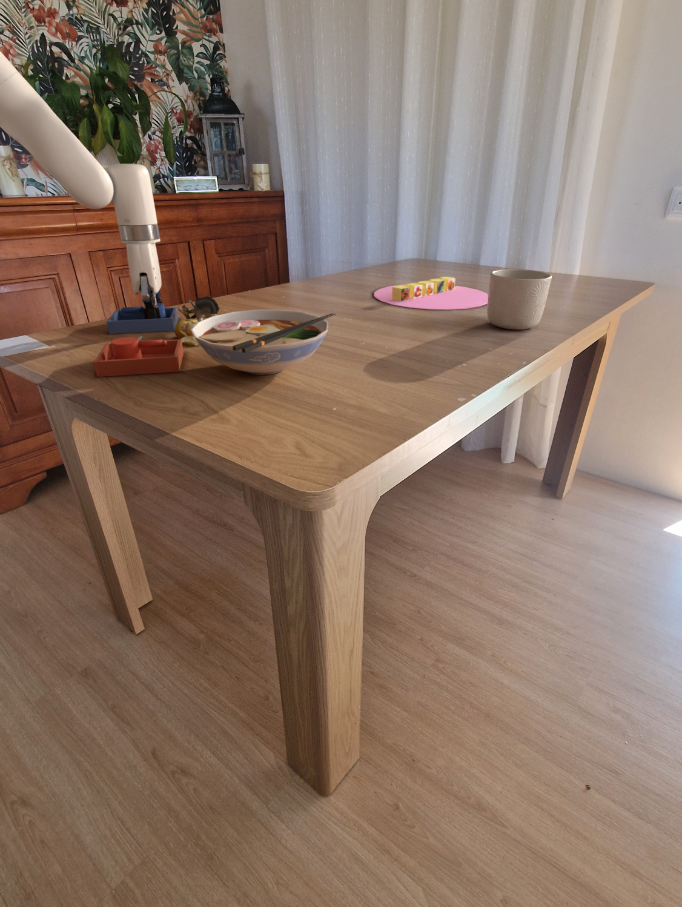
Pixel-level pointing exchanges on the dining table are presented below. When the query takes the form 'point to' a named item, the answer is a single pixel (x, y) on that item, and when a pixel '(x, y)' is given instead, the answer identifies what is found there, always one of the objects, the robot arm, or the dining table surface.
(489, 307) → the planter
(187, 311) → the brown figurine
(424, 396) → the dining table surface
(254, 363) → the ramen bowl
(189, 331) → the fruit
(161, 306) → the blue scoop
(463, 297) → the platter
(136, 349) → the red scoop
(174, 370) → the red tray
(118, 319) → the blue tray
